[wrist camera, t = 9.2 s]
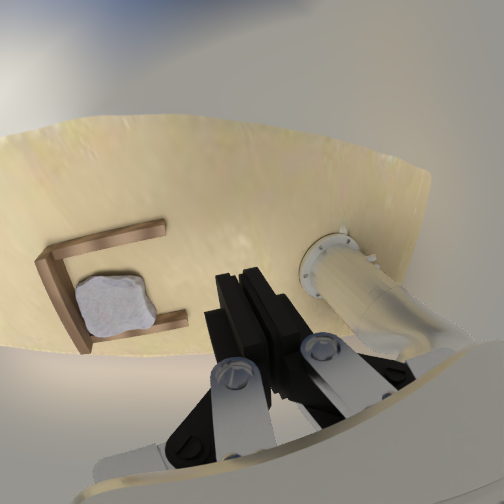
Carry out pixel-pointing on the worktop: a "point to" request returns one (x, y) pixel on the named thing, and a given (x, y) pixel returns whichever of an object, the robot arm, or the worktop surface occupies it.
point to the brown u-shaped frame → (65, 296)
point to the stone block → (114, 304)
